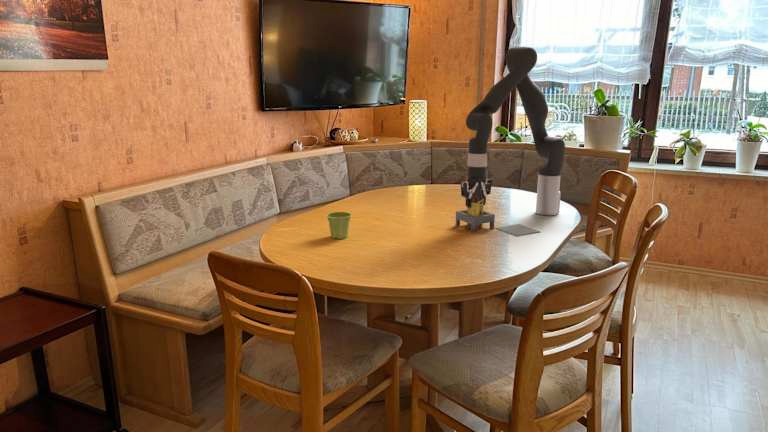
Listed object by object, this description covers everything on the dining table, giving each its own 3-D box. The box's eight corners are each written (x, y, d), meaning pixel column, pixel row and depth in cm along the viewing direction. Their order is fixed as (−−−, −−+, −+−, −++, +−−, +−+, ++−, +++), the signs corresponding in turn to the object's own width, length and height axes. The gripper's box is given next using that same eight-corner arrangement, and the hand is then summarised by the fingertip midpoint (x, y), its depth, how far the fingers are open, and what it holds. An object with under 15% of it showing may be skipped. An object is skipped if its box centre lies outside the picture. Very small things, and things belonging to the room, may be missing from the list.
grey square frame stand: (475, 222, 238) (476, 208, 237) (494, 228, 228) (494, 214, 227) (455, 225, 233) (456, 211, 232) (473, 232, 224) (473, 217, 222)
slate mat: (519, 224, 234) (519, 224, 234) (540, 232, 224) (540, 231, 224) (496, 228, 229) (496, 227, 228) (516, 236, 218) (516, 235, 218)
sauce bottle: (482, 229, 227) (484, 180, 222) (466, 229, 228) (467, 179, 223) (482, 225, 233) (484, 177, 228) (467, 224, 235) (468, 176, 230)
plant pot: (332, 241, 211) (332, 219, 209) (323, 235, 219) (322, 213, 217) (355, 238, 215) (355, 216, 213) (345, 232, 224) (345, 210, 221)
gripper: (485, 161, 231) (483, 202, 235) (456, 164, 224) (455, 206, 228) (497, 164, 225) (495, 206, 229) (468, 167, 218) (466, 210, 222)
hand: (475, 206), depth 229 cm, fingers closed on sauce bottle, 6 cm apart
